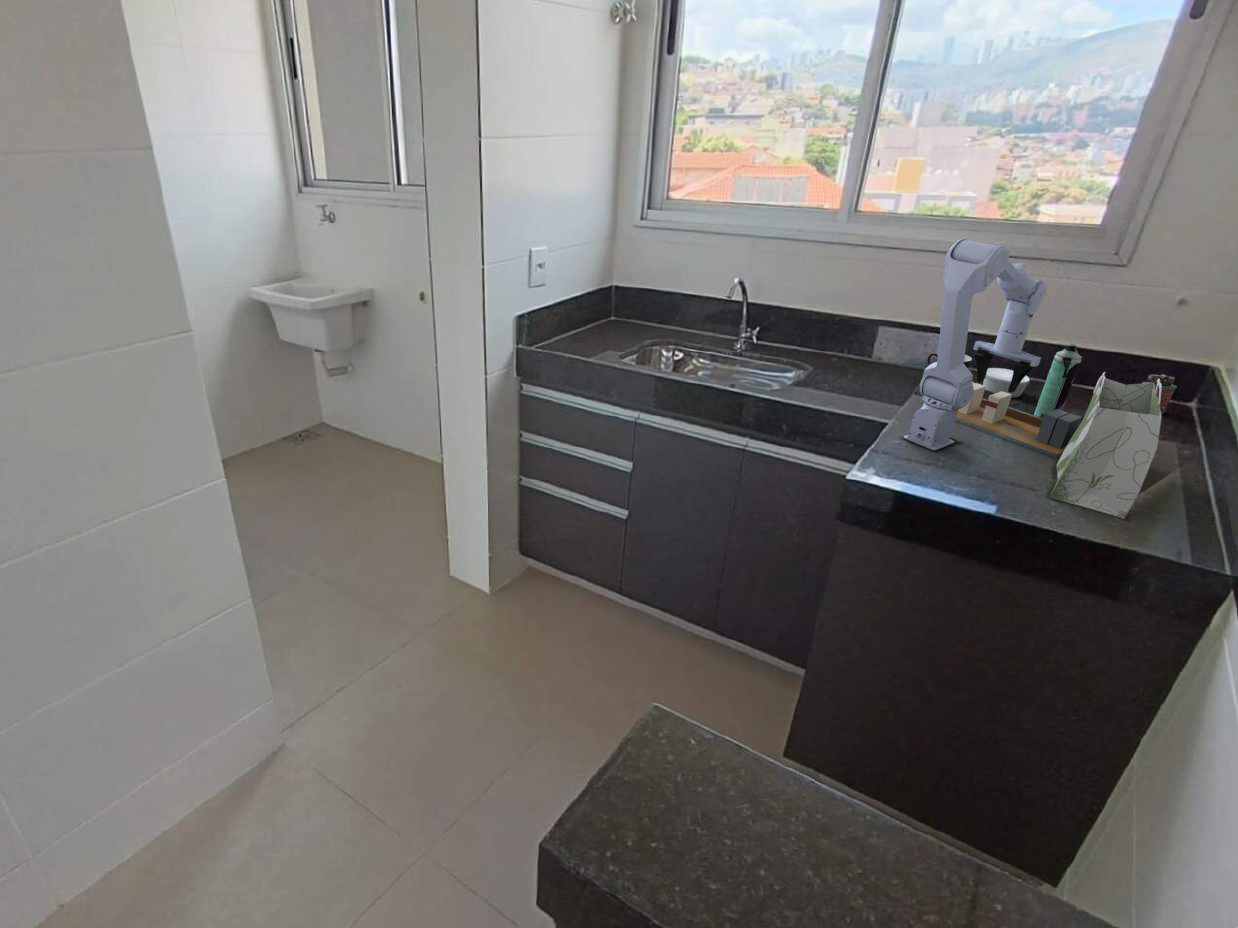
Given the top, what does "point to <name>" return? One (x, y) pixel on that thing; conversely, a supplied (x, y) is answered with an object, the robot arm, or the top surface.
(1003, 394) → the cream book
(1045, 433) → the grey book
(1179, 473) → the top surface
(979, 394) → the cream rectangular block
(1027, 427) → the shelf board
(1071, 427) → the grey book
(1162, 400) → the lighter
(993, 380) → the ramekin
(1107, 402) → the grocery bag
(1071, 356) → the spray can
